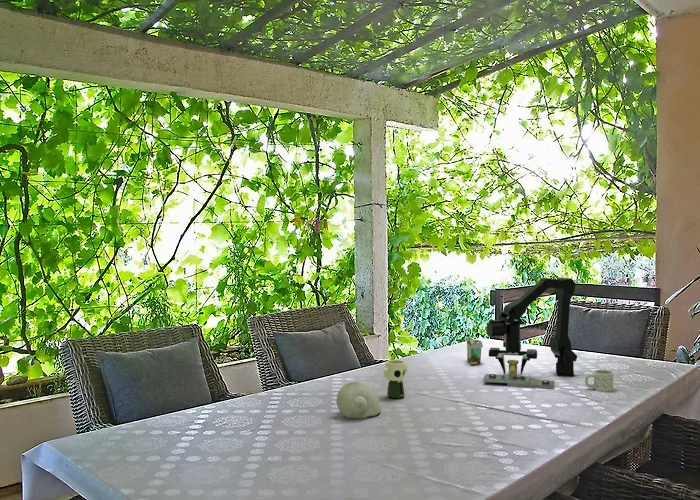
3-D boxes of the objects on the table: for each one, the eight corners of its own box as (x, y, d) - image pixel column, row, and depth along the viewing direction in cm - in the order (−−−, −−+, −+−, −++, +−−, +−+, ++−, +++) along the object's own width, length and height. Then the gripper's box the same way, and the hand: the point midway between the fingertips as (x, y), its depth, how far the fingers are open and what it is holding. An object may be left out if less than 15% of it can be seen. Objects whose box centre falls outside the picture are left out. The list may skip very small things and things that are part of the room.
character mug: (390, 402, 232) (390, 365, 232) (378, 397, 238) (377, 362, 237) (413, 396, 239) (413, 361, 238) (400, 392, 245) (400, 358, 244)
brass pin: (519, 377, 267) (518, 360, 266) (518, 379, 262) (518, 362, 262) (507, 376, 268) (507, 359, 268) (506, 379, 264) (506, 361, 264)
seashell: (337, 437, 216) (340, 408, 207) (331, 403, 227) (334, 374, 218) (382, 432, 219) (387, 404, 210) (374, 399, 230) (378, 370, 220)
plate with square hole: (554, 384, 254) (554, 375, 254) (553, 389, 247) (553, 380, 247) (486, 379, 263) (486, 372, 263) (483, 384, 255) (483, 376, 255)
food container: (485, 366, 287) (485, 343, 287) (471, 366, 288) (471, 343, 287) (480, 360, 300) (480, 338, 299) (466, 360, 300) (466, 338, 300)
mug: (610, 387, 248) (610, 370, 248) (615, 392, 242) (615, 374, 242) (582, 387, 249) (582, 369, 249) (587, 391, 243) (587, 373, 243)
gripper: (537, 333, 269) (538, 371, 270) (491, 331, 275) (491, 368, 276) (536, 338, 259) (536, 377, 259) (488, 336, 265) (488, 374, 265)
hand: (513, 374), depth 265 cm, fingers open, 6 cm apart
